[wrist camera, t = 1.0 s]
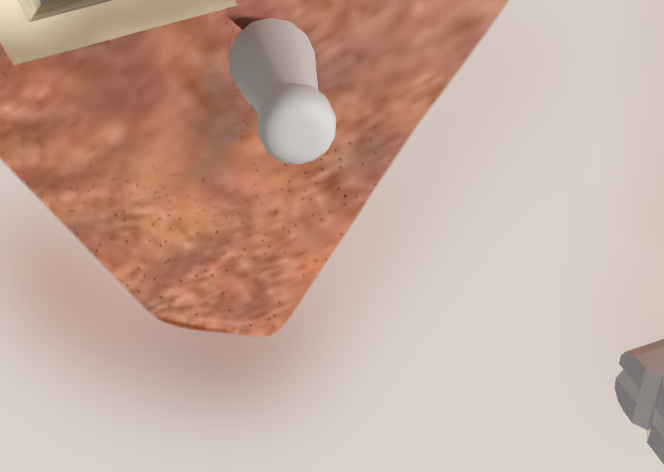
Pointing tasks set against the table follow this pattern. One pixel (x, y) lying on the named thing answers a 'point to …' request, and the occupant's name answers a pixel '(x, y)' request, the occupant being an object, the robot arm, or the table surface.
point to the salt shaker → (283, 90)
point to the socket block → (86, 22)
